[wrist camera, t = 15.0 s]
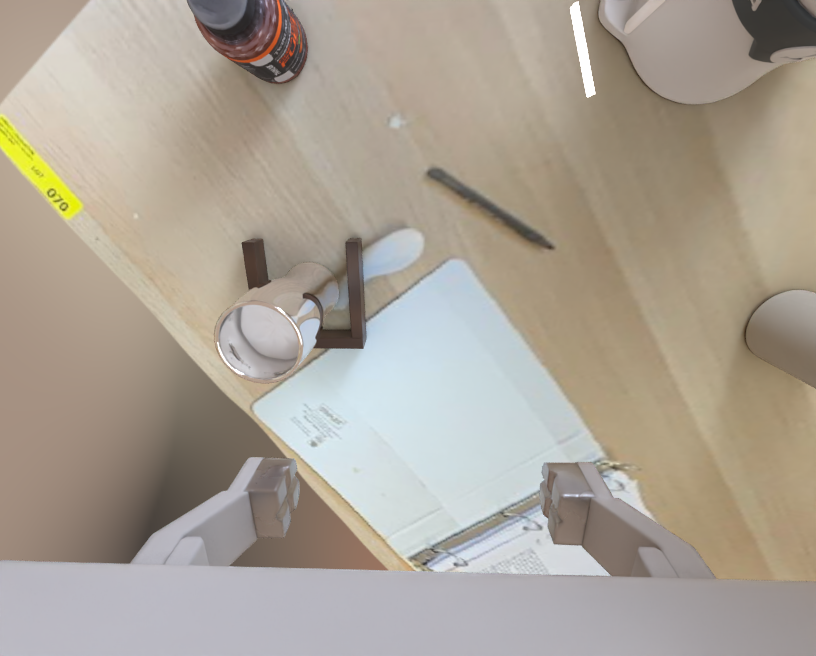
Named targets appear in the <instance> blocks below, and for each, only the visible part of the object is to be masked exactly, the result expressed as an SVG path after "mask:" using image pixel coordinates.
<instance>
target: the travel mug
mask: <svg viewBox="0 0 816 656" xmlns="http://www.w3.org/2000/svg"><path fill="white" fill-rule="evenodd" d="M746 341H747V345H748V347H749V349H750V350H751V351H752V353H753V354H755V355H756V356H757V357H759V358H761V359H763V360H765V361H766V362H768V363H770V364H772V365H774V366H776V367H777V368H779V369H781V370H783V371H785V372H787V373H788V374H790V375H792V376H794V377H796V378H797V379H799V380H801V381H803V382H805V383H807V384H808V385H810V386H812V387H814V388H816V293H814V292H811V291H807V290H791V291H786V292H783V293H780V294H778V295H776V296H774V297H772V298H770V299H769V300H767V301H766V302H764V303H763V304H762V305H761V306H760V307H759V308H758V309H757V310H756V311H755V313H754V314H753V316H752V317H751V319H750V321H749V323H748V326H747V330H746Z"/></svg>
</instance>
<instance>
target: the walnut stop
mask: <svg viewBox="0 0 816 656" xmlns="http://www.w3.org/2000/svg"><path fill="white" fill-rule="evenodd" d="M242 248H243V255H244V261H245V268H246V274H247V281H248V288H249V290H250V289H252V288H254V287H256V286H257V285H259V284H261V283H263V282H266V281H268V275H267V268H266V260H265V253H264V245H263V239H250V240H247V241H245V242H242ZM346 258H347V274H348V289H349V305H350V321H351V330H322V332H321V335H320V337H319V339H318V341H317V343H316V344H315V346H314V348H349V349H363V348H364V345H365V342H366V321H365V301H364V281H363V261H362V241H361V238H350V239H349V240H348V241H346Z"/></svg>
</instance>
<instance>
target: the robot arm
mask: <svg viewBox="0 0 816 656" xmlns="http://www.w3.org/2000/svg"><path fill="white" fill-rule="evenodd" d="M570 11H571V17H572V22H573V27H574V32H575V38H576V43H577V48H578V53H579V59H580V64H581V69H582V74H583V80H584V85H585V90H586V95H587V97H589V96H592V95H594V94H595V90H594V84H593V79H592V73H591V68H590V63H589V57H588V52H587V46H586V41H585V35H584V30H583V25H582V19H581V14H580V8H579V3H578V2H576V3H574V4H573V5H572V6H571V8H570ZM598 16H599V20H600V22H601V23H602V25H603V26H604V27H605V28H606V29H607V30H608V31H609V32H610V33H611V34H612V35H614V36H615V37H616V38H617V39H619V40H620V41H621V42H622V43H623V45H624V46H625V48H626V50H627V52H628V54H629V57H630V59H631V61H632V64H633V66H634V68H635V70H636V71H637V73H638V75H639V76H640V77H641V79H642V80H643V81H644V82H645V83H646V85H647V86H648V87H650V88H651V89H652V90H653V91H654V92H656V93H657V94H659V95H660V96H662V97H664V98H666V99H669V100H671V101H674V102H678V103H683V104H706V103H711V102H716V101H719V100H722V99H725V98H728V97H730V96H732V95H734V94H736V93H738V92H740V91H742V90H743V89H745V88H747V87H748V86H750V85H751V84H752V83H754V82H755V81H756V80H758V79H759V78H760V77H761V76H763V75H765V74H766V73H768V72H770V71H772V70H773V69H775V68H777V67H779V66H781V65H784V64H786V63H794V62H800V61H805V60H809V59H813V58H816V0H601V1H600V5H599V10H598ZM296 471H297V465H296V460H295V459H290V458H256V457H250V458H249V459H247V460H246V462H245V463H244V465H243V467H242V468H241V470H240V471H239V473H238V475H237V476H236V478H235V479H234V481H233V482H232V484H231V486H230V487H229V489H228V490H227V491H222V492H220V493H219V494H217V495H215V496H214V497H212V498H211V499H209V500H207V501H206V502H204V503H202V504H201V505H199V506H198V507H196V508H194V509H193V510H191V511H189V512H188V513H186V514H185V515H183V516H181V517H180V518H178V519H176V520H175V521H173V522H172V523H170V524H168V525H167V526H165V527H163V528H162V529H160V530H158V531H157V532H156V533H154V534H152V535H151V537H150V538H149V539H148V541H147V542H146V543H145V544H144V546H143V547H142V548H141V550H140V551H139V552H138V554H137V555H136V556H135V558H134V559H133V560H132V562H131V563H130V564H115V563H76V562H75V563H74V562H40V561H14V560H0V656H816V581H779V580H739V579H717V578H716V577H715V576H714V574H713V573H712V572H711V570H710V569H709V567H708V566H707V565H706V563H705V562H704V560H703V559H702V558H701V556H700V555H699V554H698V552H697V551H696V549H695V548H694V547H693V546H691V545H690V544H688V543H687V542H685V541H684V540H682V539H681V538H679V537H677V536H676V535H674V534H673V533H671V532H670V531H668V530H667V529H665V528H664V527H662V526H661V525H659V524H657V523H656V522H654V521H653V520H651V519H650V518H648V517H647V516H645V515H644V514H642V513H641V512H639V511H637V510H636V509H634V508H633V507H631V506H630V505H628V504H627V503H625V502H624V501H622V500H621V499H619V498H614V497H613V496H612V494H611V492H610V491H609V489H608V487H607V486H606V484H605V482H604V480H603V479H602V477H601V475H600V474H599V472H598V470H597V469H596V467H595V465H594V464H593V463H591V462H575V463H544V464H543V466H542V475H543V478H544V481H543V482H542V483H541V484H540V491H539V495H540V504H541V509H542V512H543V515H544V516H545V517H547V518H548V529H549V532H550V535H551V537H552V540H553V543H554V544H562V545H581V546H582V547H583V548H584V549H585V550H586V551H587V552H588V553H589V554H590V555H591V556H592V557H593V558H594V559H595V560H596V561H597V562H598V563H599V564H600V565H601V566H602V567H603V568H604V569H605V570H606V571H607V572H608V573H609V574H610V575H611V576H582V575H541V574H503V573H466V572H425V571H383V570H346V569H343V570H342V569H307V568H268V567H231V566H229V565H231V564H232V563H233V561H235V560H236V559H237V558H238V557H239V556H240V555H241V554H242V553H243V552H244V551H246V550H247V549H248V548H249V547H250V546H251V545H252V544H253V543H254V542H255V541H256V540H257V538H284V537H285V534H286V532H287V529H288V527H289V524H290V522H291V519H290V513H291V512H293V511H294V510H295V509H296V506H297V503H298V498H299V480H298V479H297V478H296V477H295V476H294V475H295V473H296Z"/></svg>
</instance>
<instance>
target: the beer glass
mask: <svg viewBox="0 0 816 656" xmlns="http://www.w3.org/2000/svg"><path fill="white" fill-rule="evenodd" d="M338 299H339V285H338V282H337V280H336V278H335V276H334V275H333V273H332V272H331V271H330V270H329V269H327V268H326V267H324V266H323V265H321V264H318V263H314V262H303V263H300V264H297V265H295V266H294V267H292V268H291V269H290V270H289V271H288V272H287V274H286V275H285V277H281V278H276V279H272V280H269V281H266V282H263V283H261V284H259V285H257V286H256V287H254V288H252V289H250V290H249V291H248V292H246V293H245V294H244V295H242V296H241V297H240V298H239V299H238V300H237V301H236V302H234V303H233V304H232V305H231V306H230V307H229V308H227V309H226V310H225V311H224V312H223V313H222V314H221V316H220V317H219V319H218V321H217V323H216V326H215V330H214V342H215V347H216V350H217V352H218V354H219V356H220V358H221V360H222V361H223V363H224V364H225V365H226V366H227V367H228V368H229V369H230V370H231V371H232V372H234V373H235V374H236V375H238V376H240V377H241V378H244V379H246V380H248V381H252V382H256V383H274V382H278V381H281V380H283V379H285V378H287V377H288V376H290V375H291V374H292V373H293V372H294V371H295V370H296V369H297V367H298V366H299V365H300V364H301V363H302V361H303V360H304V359H305V358H306V357H307V356H308V355H309V353H310V352H311V350H312V349H313V348H314V346H315V344H316V343H317V341H318V339H319V337H320V335H321V332H322V329H323V325H324V320H325V315H327V314H328V313H329V312H331V311H332V310H333V309H334V307H335V306H336V304H337V302H338Z"/></svg>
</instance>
